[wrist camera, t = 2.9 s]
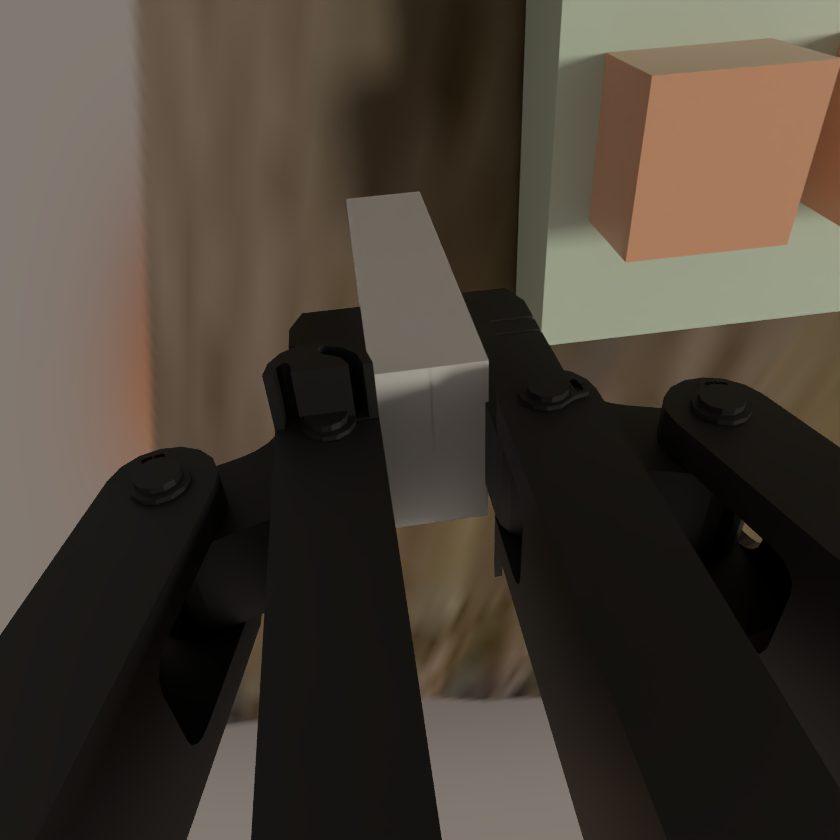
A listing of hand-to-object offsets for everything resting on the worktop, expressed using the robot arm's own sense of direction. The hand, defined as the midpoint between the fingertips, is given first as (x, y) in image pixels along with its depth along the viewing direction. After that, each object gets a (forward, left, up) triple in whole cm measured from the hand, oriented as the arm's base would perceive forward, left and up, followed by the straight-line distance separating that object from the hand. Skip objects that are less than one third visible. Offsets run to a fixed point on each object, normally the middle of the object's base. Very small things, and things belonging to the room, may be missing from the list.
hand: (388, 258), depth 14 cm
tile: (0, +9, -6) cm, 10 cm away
